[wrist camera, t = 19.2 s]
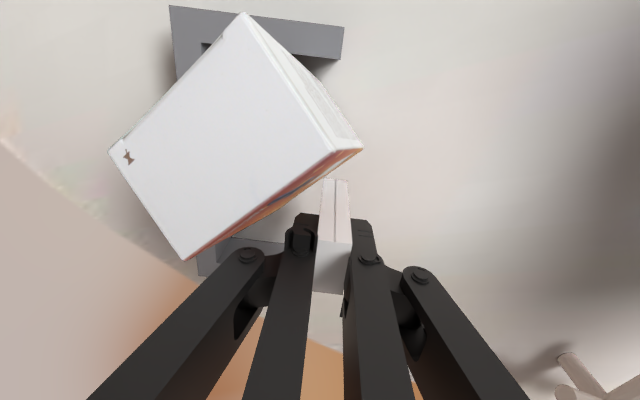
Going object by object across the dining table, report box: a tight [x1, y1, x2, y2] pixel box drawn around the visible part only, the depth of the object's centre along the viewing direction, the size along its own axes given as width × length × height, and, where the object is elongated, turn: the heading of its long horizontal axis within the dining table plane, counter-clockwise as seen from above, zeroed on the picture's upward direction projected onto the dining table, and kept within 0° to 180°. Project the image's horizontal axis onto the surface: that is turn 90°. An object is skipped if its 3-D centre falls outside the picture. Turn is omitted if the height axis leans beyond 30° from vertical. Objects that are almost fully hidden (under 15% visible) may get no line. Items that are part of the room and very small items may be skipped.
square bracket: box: [169, 5, 344, 277], centre depth 20 cm, size 18×9×4 cm, turn 174°
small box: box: [107, 12, 364, 261], centre depth 15 cm, size 8×6×10 cm
